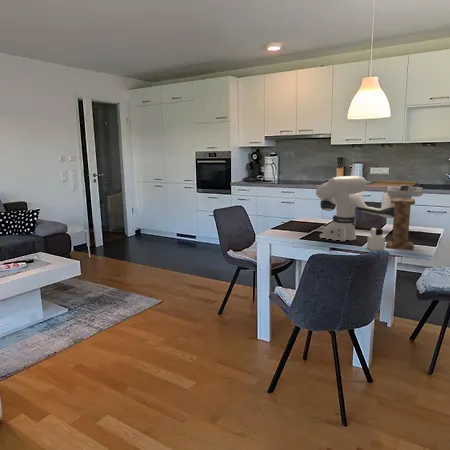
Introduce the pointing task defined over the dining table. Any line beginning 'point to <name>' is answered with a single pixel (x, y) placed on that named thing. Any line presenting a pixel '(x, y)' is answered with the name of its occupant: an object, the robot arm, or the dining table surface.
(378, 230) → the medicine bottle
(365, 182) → the robot arm
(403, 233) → the walnut stand
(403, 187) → the wooden wick
